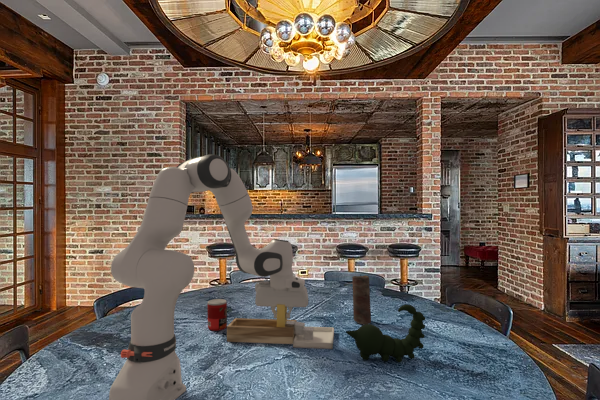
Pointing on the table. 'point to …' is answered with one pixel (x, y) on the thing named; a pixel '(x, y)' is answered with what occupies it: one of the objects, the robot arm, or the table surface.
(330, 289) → the table surface
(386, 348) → the toy figurine
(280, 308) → the block
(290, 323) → the grey cubic block
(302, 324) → the grey piece
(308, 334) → the grey and brown cube
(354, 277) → the brown tall block
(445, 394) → the table surface
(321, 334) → the tray
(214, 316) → the canned food
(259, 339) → the open wooden box
